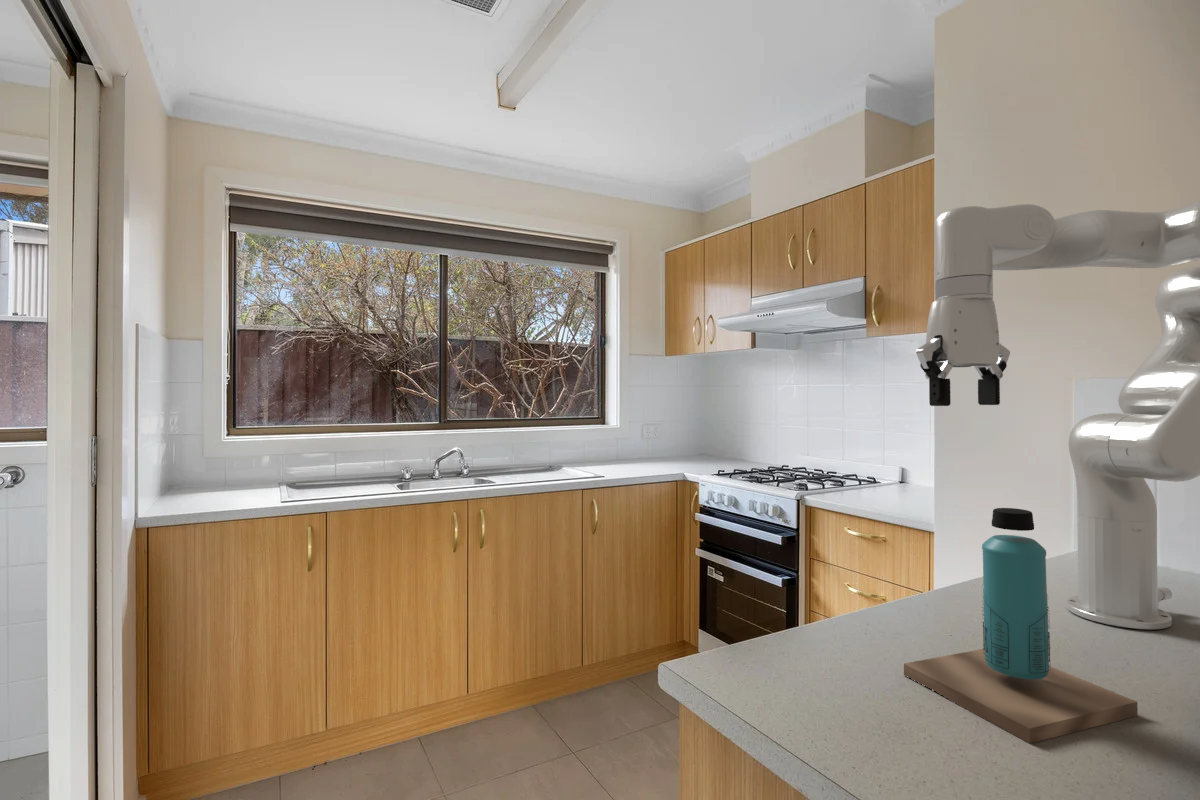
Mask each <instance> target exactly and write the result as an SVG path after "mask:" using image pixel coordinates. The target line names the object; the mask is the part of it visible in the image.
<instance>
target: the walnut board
mask: <svg viewBox="0 0 1200 800" xmlns="http://www.w3.org/2000/svg"><path fill="white" fill-rule="evenodd" d="M983 652H985V650H984V651H983V648H981V649H979V648H978V649H974V650H970V651H964V652H959V653H954V654H948V655H943V656H936V657H933V658H928V659H927V658H926V659H920V660H917V661H911V662H905V663H903V676H904V675H905V676H904V677H906V676H908V677H910V678H911V679H913V680H915V681H917V682H919V683H921V684H923V685H925V686H926V687H928V688H930V689H933V690H934V691H936V692H937V693H939V694H941V695H943V696H944V697H943V696H942V697H943V698H945V697H946V698H948V699H949V700H948V699H947V700H948V701H950V700H951V702H952V701H953V702H952V703H954V702H955V703H954V704H956V703H957V704H956V705H957V706H959V705H960V707H961V706H962V707H961V708H963V707H964V709H965V708H966V709H965V710H967V711H969V712H971V713H972V712H973V714H974V715H976V716H978V717H980V718H982V719H984V720H986V721H987V722H989V723H991V724H993V725H994V726H996V727H998V728H999V729H1000V728H1001V729H1002V730H1004V731H1006V732H1008V733H1009V734H1011V735H1014V736H1015V737H1017V738H1018V739H1020V740H1022V741H1025V742H1026V743H1028V744H1033V743H1038V742H1041V741H1042V742H1043V741H1044V740H1049V739H1053V738H1056V737H1061V736H1064V735H1068V734H1072V733H1075V732H1079V731H1084V730H1087V729H1090V728H1096V727H1099V726H1102V725H1103V726H1104V725H1106V724H1110V723H1115V722H1119V721H1122V720H1126V719H1129V718H1133V717H1138V713H1139V712H1138V709H1139V708H1138V701H1136V700H1134V699H1132V698H1129V697H1128V696H1124V695H1122V694H1120V693H1117V692H1114V691H1112V690H1109V689H1107V688H1105V687H1101V686H1099V685H1098V684H1094V683H1093V682H1090V681H1087V680H1085V679H1082V678H1080V677H1077V676H1075V675H1072V674H1070V673H1067V672H1065V671H1063V670H1060V669H1058V668H1056V667H1052V666H1051V667H1049V672H1048V675H1047V676H1046V677H1045V678H1041V679H1023V678H1017V677H1012V676H1008V675H1005V674H1002V673H1000V672H997V671H995V670H993V669H992V668H990V667H989V666H988V665H987V663H986V660H985V658H984V657H985V653H983ZM983 655H984V656H983ZM1050 668H1051V669H1050ZM911 679H910V680H911ZM913 680H912V681H913ZM915 681H914V682H915ZM917 682H916V683H917ZM919 683H918V684H919ZM926 687H925V688H926ZM928 688H927V689H928ZM930 689H929V690H930ZM937 693H936V694H937ZM939 694H938V695H939ZM941 695H940V696H941ZM946 698H945V699H946Z"/></svg>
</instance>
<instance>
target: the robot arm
mask: <svg viewBox="0 0 1200 800" xmlns="http://www.w3.org/2000/svg"><path fill="white" fill-rule="evenodd" d="M1196 261H1200V200H1199V201H1196V202H1193V203H1190V204H1187V205H1183V206H1180V207H1176V208H1173V209H1169V210H1165V211H1158V212H1157V211H1155V212H1150V211H1148V212H1147V211H1128V210H1127V211H1126V210H1125V211H1121V210H1111V209H1110V210H1109V209H1097V210H1095V209H1094V210H1090V211H1089V210H1088V211H1084V212H1078V213H1073V214H1069V215H1065V216H1062V217H1058V218H1054V216H1053V214H1052V213H1051V212H1050V211H1049V210H1047V209H1046V208H1044V207H1043V206H1040V205H1036V204H1030V203H1022V204H1014V205H1008V206H1007V205H1006V206H999V207H989V208H987V207H983V206H978V205H972V206H971V205H970V206H968V205H967V206H962V207H961V206H960V207H956V208H952V209H948V210H946V211H944V212H942V213H941V214H939V215H938V216H937V217H936V219H935V222H934V280H935V281H934V282H935V283H934V294H935V295H934V296H935V297H934V298H935V300H934V301H932V302H931V303H930V304H931V305H930V308H929V313H928V317H927V319H928V320H927V327H926V338H925V343H924V344H923V345H921V346H920V347H918V348H917V349H916V351H915V354H916V357H917V359H918V361H919V363H920V368H921V370H922V371H923V373H924V374H925V375H924V376H925V379H926V380H928V381H929V385H928V386H929V392H928V393H929V395H928V396H929V398H928V399H929V406H930V407H949V406H950V405H951V379H950V378H947V376H948V375H949V373H950V372H951V370H952V369H953V368H970V367H974V368H975V370H976V372H977V373H978V375H979V376H980V378H979V379H977V403H978V405H979V406H999V405H1000V403H1001V400H1000V399H1001V398H1000V397H1001V387H1000V386H1001V383H1000V382H1001V380H1000V379H1002V378H1003V376H1004V373H1003V372H1004V371H1005V370H1006V368H1007V362H1008V360H1009V358H1010V356H1011V351H1010V349H1009V348H1007V347H1006V346H1004V345H1003V344H1001V343H1000V334H999V333H1000V332H999V322H998V316H997V315H998V314H997V309H996V305H995V301H994V295H993V294H994V281H993V280H994V278H993V277H994V274H993V272H994V271H1024V270H1025V271H1027V270H1031V271H1032V270H1048V269H1049V270H1050V269H1072V268H1081V267H1103V268H1106V267H1107V268H1126V269H1127V268H1128V269H1129V268H1131V269H1132V268H1133V269H1159V268H1166V267H1170V266H1176V265H1180V264H1185V263H1189V262H1196ZM1155 291H1156V292H1155V296H1154V303H1155V307H1156V311H1157V313H1158V316H1159V322H1160V327H1161V339H1160V340H1159V342H1158V344H1157V345H1156V346H1155V348H1154V349H1153V350H1152V352H1151V353H1149V355H1148V356H1147V357H1146V358H1145V360H1144V361H1143V362H1142V363H1141V364H1140V365H1139V367H1138V368H1137V369H1136V370H1135V371H1134V372H1133V373H1132V375H1130V377H1129V378H1128V379H1127V381H1126V382H1125V383H1124V384H1123V386H1122V387H1121V390H1120V392H1119V394H1118V400H1117V401H1118V406H1119V408H1120V409H1121V411H1122V413H1117V412H1116V413H1115V412H1114V413H1113V412H1112V413H1108V412H1107V413H1100V414H1099V413H1097V414H1093V415H1089V416H1087V417H1084V418H1083V419H1081V420H1080V421H1078V422H1077V423H1076V424H1075V425H1074V426H1073V428H1072V429H1071V431H1070V433H1069V436H1068V437H1069V438H1068V449H1069V450H1068V452H1069V455H1070V459H1071V464H1072V467H1073V471H1074V475H1075V476H1074V477H1075V482H1076V483H1075V484H1076V485H1075V486H1076V500H1077V501H1076V503H1077V505H1076V506H1077V512H1076V513H1077V517H1076V518H1077V519H1076V520H1077V583H1078V585H1077V587H1078V588H1077V589H1078V590H1077V593H1078V595H1074V596H1071V597H1069V598H1067V599H1066V601H1065V602H1066V604H1065V606H1066V609H1067V610H1068V611H1070V612H1071V613H1072V614H1074V615H1076V616H1078V617H1081V618H1082V619H1083V618H1084V619H1085V620H1086V619H1087V620H1090V621H1093V622H1097V623H1101V624H1105V625H1110V626H1115V627H1119V628H1127V629H1135V630H1149V631H1151V630H1164V629H1167V628H1169V627H1171V626H1172V625H1173V618H1172V616H1171V615H1170V613H1168V612H1166V611H1165V610H1163V609H1160V608H1159V603H1160V602H1161V601H1166V600H1170V599H1172V597H1173V592H1172V591H1171V590H1170V589H1169V588H1168V587H1166V586H1161V587H1158V524H1157V522H1158V521H1157V520H1158V510H1157V504H1156V500H1155V496H1154V494H1153V491H1152V489H1151V488H1150V486H1149V484H1148V483H1147V481H1146V479H1147V480H1155V481H1164V482H1175V483H1176V482H1186V481H1190V480H1193V479H1195V478H1198V477H1200V265H1195V266H1192V267H1188V268H1184V269H1181V270H1178V271H1175V272H1173V273H1172V274H1170V275H1168V276H1166V277H1165V278H1164V279H1163V280H1162V281H1161V282H1160V283H1159V285H1158V286H1157V288H1156V290H1155Z"/></svg>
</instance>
